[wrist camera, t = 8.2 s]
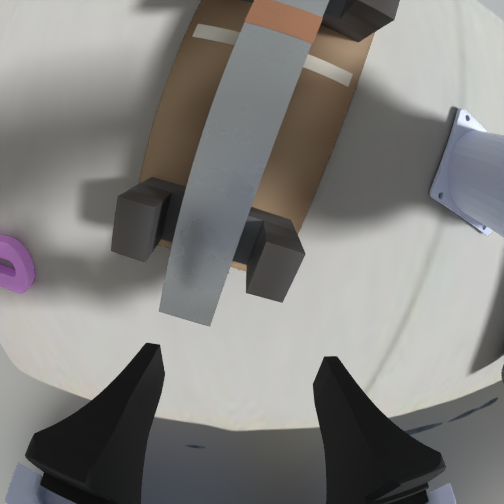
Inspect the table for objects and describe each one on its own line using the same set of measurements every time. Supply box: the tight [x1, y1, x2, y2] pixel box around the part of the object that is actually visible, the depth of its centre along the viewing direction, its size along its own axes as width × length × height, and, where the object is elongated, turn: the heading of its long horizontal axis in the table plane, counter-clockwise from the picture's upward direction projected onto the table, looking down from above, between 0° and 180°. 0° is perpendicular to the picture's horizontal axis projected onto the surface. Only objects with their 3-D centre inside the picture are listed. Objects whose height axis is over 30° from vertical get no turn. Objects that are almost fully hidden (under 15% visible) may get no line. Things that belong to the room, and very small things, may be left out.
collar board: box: [111, 0, 400, 302], centre depth 12 cm, size 11×22×6 cm, turn 161°
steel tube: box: [159, 0, 329, 326], centre depth 12 cm, size 3×22×3 cm, turn 161°
